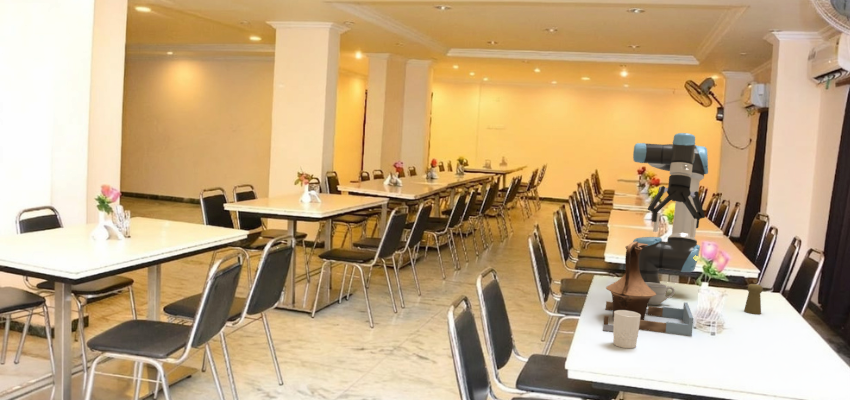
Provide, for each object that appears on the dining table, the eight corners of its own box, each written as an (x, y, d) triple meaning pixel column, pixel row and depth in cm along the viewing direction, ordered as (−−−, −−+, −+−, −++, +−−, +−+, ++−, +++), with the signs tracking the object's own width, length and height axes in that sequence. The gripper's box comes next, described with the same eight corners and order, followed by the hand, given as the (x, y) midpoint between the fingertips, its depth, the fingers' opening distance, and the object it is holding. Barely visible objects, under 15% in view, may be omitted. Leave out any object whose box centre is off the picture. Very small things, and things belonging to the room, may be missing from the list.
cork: (757, 311, 277) (760, 283, 276) (763, 314, 271) (766, 286, 270) (741, 309, 277) (744, 282, 276) (747, 313, 271) (750, 285, 270)
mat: (602, 330, 233) (602, 330, 233) (603, 325, 240) (603, 324, 240) (634, 334, 230) (634, 334, 230) (634, 328, 238) (634, 328, 238)
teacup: (634, 304, 276) (636, 284, 275) (637, 299, 286) (639, 279, 285) (672, 309, 270) (674, 289, 270) (674, 304, 280) (675, 284, 280)
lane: (603, 324, 241) (604, 316, 240) (605, 309, 264) (606, 301, 264) (665, 332, 235) (666, 323, 235) (661, 315, 259) (662, 307, 258)
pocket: (665, 332, 235) (667, 315, 235) (662, 316, 259) (663, 299, 258) (691, 336, 233) (693, 318, 232) (685, 318, 256) (687, 302, 256)
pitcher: (645, 329, 238) (653, 247, 236) (596, 319, 247) (603, 240, 245) (658, 319, 253) (666, 242, 251) (612, 310, 262) (618, 235, 260)
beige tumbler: (623, 350, 212) (626, 317, 211) (605, 342, 219) (608, 310, 218) (643, 347, 216) (646, 315, 215) (625, 340, 223) (627, 309, 222)
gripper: (650, 169, 251) (643, 228, 249) (718, 180, 252) (712, 238, 250) (642, 172, 259) (636, 229, 256) (708, 182, 260) (703, 239, 258)
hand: (673, 234), depth 253 cm, fingers open, 13 cm apart
